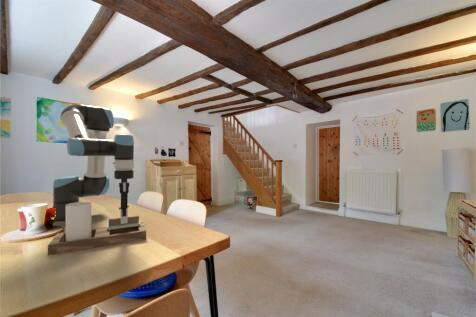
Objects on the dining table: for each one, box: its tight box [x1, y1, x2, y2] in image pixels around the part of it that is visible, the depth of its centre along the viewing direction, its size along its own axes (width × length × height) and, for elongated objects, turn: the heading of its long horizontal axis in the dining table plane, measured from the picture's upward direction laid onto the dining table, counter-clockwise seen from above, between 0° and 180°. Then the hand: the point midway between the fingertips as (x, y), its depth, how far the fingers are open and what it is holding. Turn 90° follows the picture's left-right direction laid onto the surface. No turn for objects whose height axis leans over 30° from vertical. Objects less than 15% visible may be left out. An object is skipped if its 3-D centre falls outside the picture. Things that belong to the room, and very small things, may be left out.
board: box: [47, 221, 147, 256], centre depth 96 cm, size 27×32×4 cm
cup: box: [65, 201, 92, 241], centre depth 86 cm, size 8×8×16 cm
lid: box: [106, 214, 141, 230], centre depth 101 cm, size 13×13×4 cm
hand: (124, 223), depth 96 cm, fingers closed
